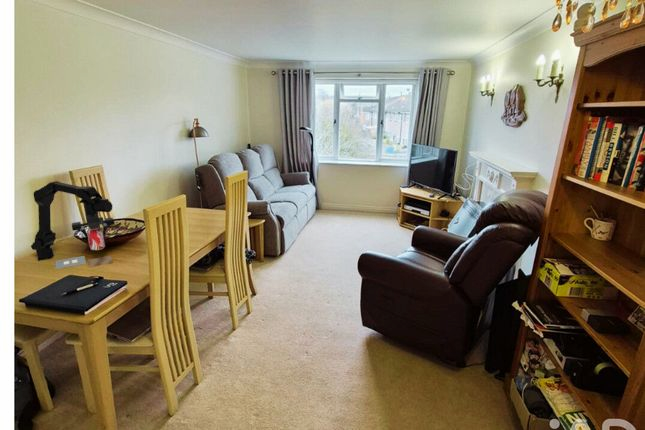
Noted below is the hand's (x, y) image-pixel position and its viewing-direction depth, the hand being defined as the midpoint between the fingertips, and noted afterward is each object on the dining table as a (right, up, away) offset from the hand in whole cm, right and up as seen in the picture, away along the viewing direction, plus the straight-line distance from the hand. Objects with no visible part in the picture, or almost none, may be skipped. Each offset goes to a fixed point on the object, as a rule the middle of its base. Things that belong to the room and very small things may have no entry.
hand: (96, 239), depth 184 cm
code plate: (-15, -13, +2) cm, 20 cm away
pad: (0, -12, +4) cm, 13 cm away
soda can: (0, -5, +2) cm, 6 cm away
